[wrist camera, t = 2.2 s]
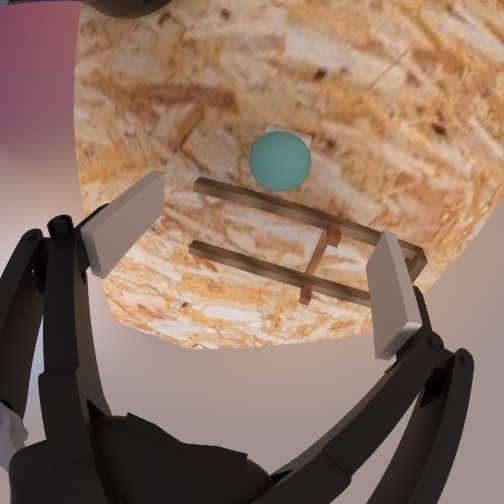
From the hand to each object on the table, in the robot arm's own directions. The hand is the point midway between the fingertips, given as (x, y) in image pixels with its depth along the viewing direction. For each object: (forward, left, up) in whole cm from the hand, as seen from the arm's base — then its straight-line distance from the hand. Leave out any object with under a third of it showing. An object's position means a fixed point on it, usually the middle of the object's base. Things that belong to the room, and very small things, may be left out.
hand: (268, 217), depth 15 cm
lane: (+5, -13, -17) cm, 22 cm away
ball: (-1, -1, -12) cm, 12 cm away
